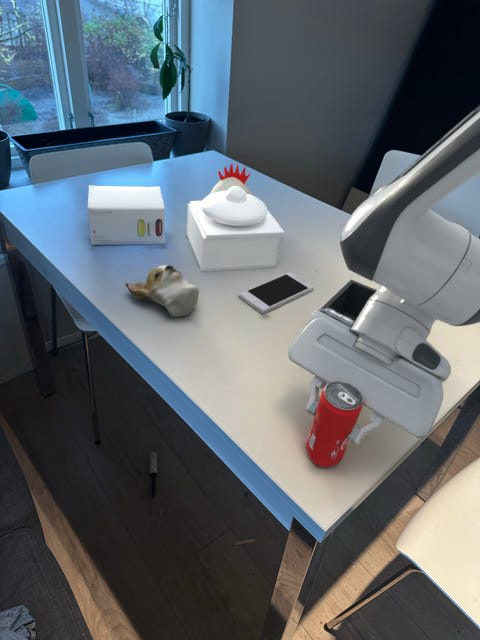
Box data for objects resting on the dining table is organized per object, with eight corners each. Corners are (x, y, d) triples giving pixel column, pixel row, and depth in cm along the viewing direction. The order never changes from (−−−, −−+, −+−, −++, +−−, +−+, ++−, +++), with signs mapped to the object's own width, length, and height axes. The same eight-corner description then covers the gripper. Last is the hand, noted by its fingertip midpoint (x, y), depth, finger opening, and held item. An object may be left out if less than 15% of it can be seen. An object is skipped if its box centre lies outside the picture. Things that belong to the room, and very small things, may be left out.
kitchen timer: (249, 236, 113) (257, 178, 104) (197, 226, 115) (200, 168, 106) (259, 214, 124) (266, 160, 115) (211, 206, 126) (214, 151, 117)
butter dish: (186, 234, 111) (188, 171, 101) (255, 232, 116) (263, 171, 106) (201, 272, 97) (205, 202, 88) (278, 267, 102) (290, 201, 93)
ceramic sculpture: (168, 290, 75) (119, 258, 83) (169, 332, 80) (123, 297, 88) (215, 271, 81) (165, 243, 90) (214, 311, 86) (167, 281, 95)
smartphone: (238, 296, 91) (238, 292, 90) (289, 274, 100) (290, 271, 99) (262, 314, 87) (263, 310, 87) (313, 289, 96) (314, 286, 95)
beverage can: (319, 432, 65) (338, 373, 58) (349, 455, 63) (372, 397, 55) (297, 452, 62) (314, 392, 55) (326, 477, 59) (348, 418, 52)
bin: (405, 340, 85) (420, 307, 80) (380, 379, 76) (394, 344, 71) (341, 311, 91) (351, 279, 86) (310, 344, 82) (318, 309, 77)
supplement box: (90, 246, 101) (86, 207, 96) (92, 220, 111) (88, 184, 106) (165, 244, 105) (165, 207, 100) (160, 220, 115) (160, 185, 110)
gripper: (313, 295, 61) (260, 382, 60) (463, 371, 51) (401, 475, 51) (324, 308, 66) (275, 388, 66) (461, 379, 56) (404, 474, 56)
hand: (331, 427), depth 58 cm, fingers closed on beverage can, 5 cm apart
